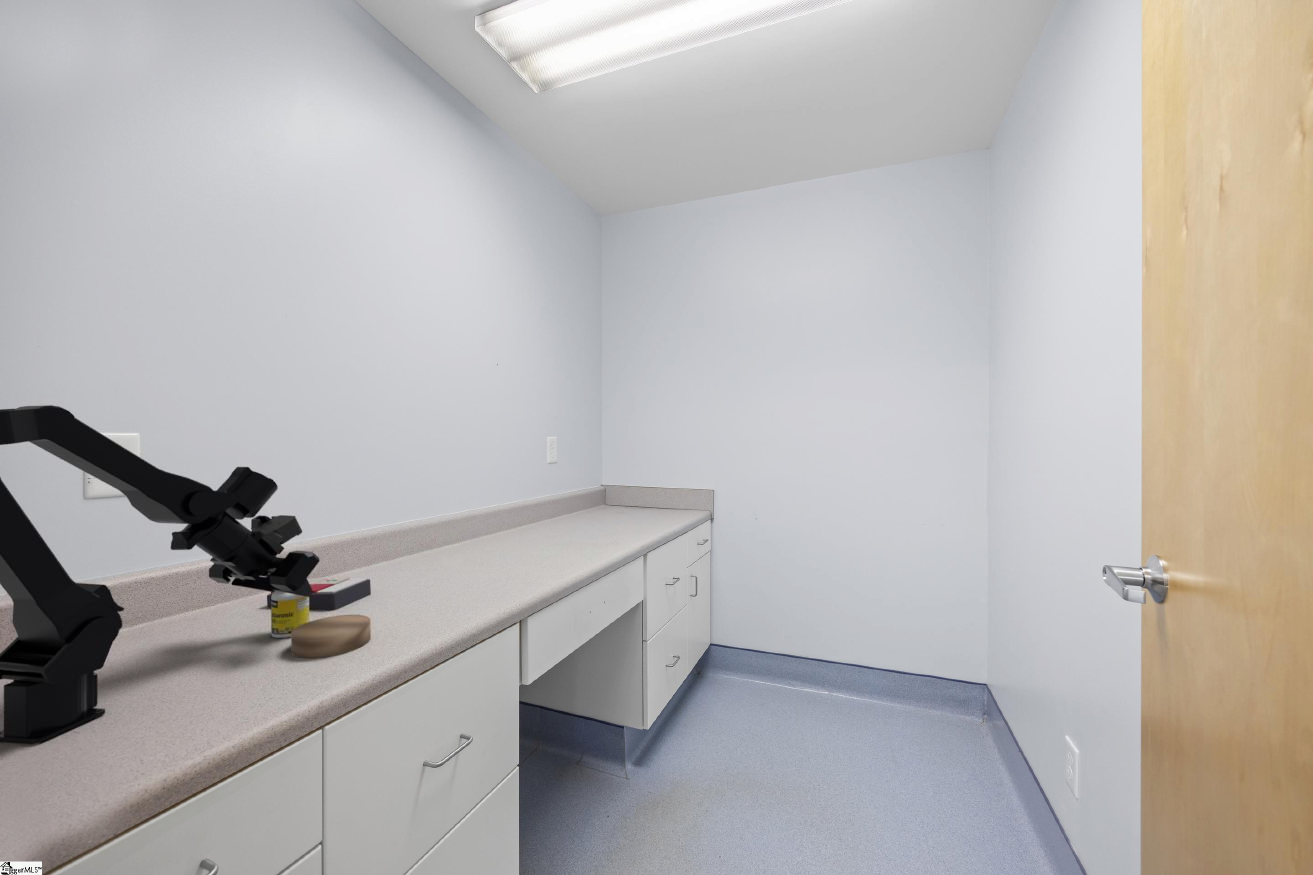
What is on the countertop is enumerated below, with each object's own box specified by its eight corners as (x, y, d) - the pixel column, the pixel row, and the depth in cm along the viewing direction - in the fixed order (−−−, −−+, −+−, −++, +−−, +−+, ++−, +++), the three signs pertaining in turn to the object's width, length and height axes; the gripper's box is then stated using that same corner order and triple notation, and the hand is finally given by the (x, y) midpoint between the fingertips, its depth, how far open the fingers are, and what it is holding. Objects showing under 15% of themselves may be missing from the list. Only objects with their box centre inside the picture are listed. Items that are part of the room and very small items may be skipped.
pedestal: (339, 659, 78) (339, 639, 78) (273, 656, 80) (273, 637, 80) (384, 632, 89) (384, 615, 89) (326, 630, 91) (326, 613, 91)
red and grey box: (308, 577, 114) (371, 575, 112) (309, 596, 114) (371, 595, 112) (265, 591, 103) (333, 589, 102) (266, 612, 103) (334, 611, 102)
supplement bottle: (262, 638, 87) (262, 580, 87) (289, 626, 93) (289, 572, 93) (291, 639, 87) (291, 581, 87) (316, 628, 92) (316, 573, 92)
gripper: (308, 503, 83) (366, 557, 94) (228, 499, 89) (291, 550, 99) (257, 563, 76) (326, 614, 86) (173, 555, 81) (248, 603, 92)
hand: (298, 592), depth 91 cm, fingers open, 6 cm apart
